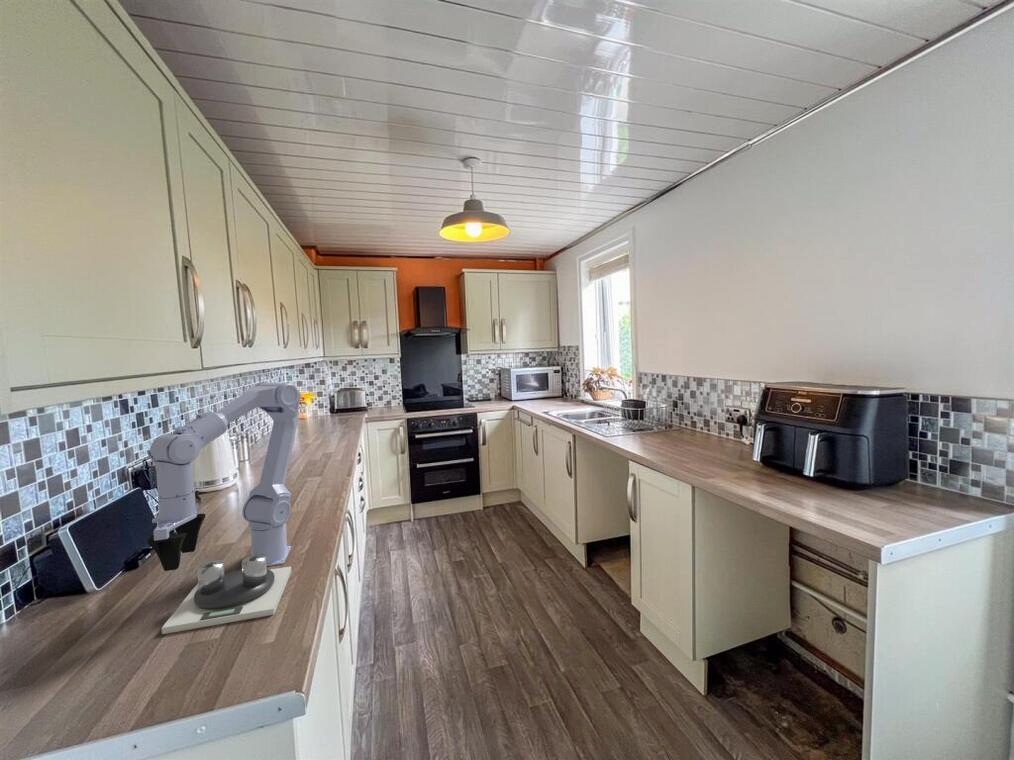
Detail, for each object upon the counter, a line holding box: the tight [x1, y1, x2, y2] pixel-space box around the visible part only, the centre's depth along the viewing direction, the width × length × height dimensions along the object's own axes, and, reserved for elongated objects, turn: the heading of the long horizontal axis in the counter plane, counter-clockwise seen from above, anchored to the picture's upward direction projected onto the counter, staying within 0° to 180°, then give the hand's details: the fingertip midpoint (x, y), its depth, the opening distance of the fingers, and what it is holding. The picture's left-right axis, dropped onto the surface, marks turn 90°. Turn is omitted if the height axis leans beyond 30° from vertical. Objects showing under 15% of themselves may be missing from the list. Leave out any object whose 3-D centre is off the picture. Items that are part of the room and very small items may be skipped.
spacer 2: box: [241, 554, 268, 588], centre depth 87 cm, size 4×4×5 cm
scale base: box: [161, 566, 292, 635], centre depth 85 cm, size 17×18×2 cm
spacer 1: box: [197, 559, 225, 595], centre depth 85 cm, size 4×4×5 cm
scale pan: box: [194, 568, 275, 609], centre depth 86 cm, size 14×14×1 cm
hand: (180, 560), depth 83 cm, fingers open, 7 cm apart
